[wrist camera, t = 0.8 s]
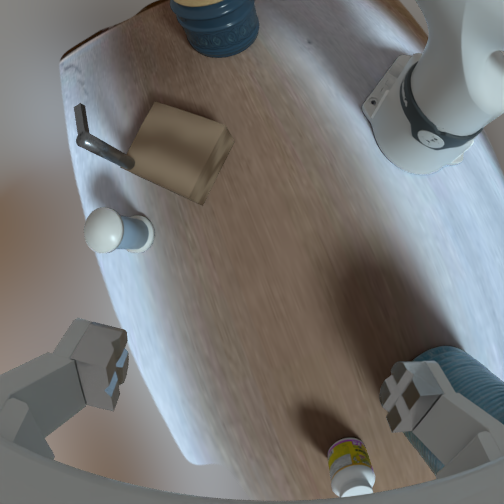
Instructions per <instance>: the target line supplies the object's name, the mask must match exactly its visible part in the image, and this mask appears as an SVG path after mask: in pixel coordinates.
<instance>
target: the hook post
mask: <svg viewBox="0 0 504 504" xmlns="http://www.w3.org/2000/svg"><path fill="white" fill-rule="evenodd" d="M74 111H75V118H76V125H77V132H78V136H77V139H76V143H77V145H78V146H80V147H82V148H84V149H86V150H88V151H90V152H92V153H94V154H96V155H98V156H101V157H103V158H105V159H107V160H109V161H111V162H113V163H115V164H117V165H119V166H121V167H123V168H125V169H127V170H131V169H132V168H133V167H134V166H135V160H134V159H133V158H131V157H130V156H128V155H126V154H124V153H123V152H121V151H119V150H118V149H116V148H114V147H112V146H111V145H109V144H107V143H105V142H104V141H102V140H100V139H98V138H97V137H95V136H93V135H91V134H90V133H89V128H88V122H87V116H86V110H85V106H84V105H83V104H81V103H80V104H78V105H77V106H75V107H74Z"/></svg>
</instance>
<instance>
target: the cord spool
mask: <svg viewBox="0 0 504 504" xmlns="http://www.w3.org/2000/svg"><path fill="white" fill-rule="evenodd" d="M84 237H85V240H86V243H87V245H88V246H89V248H90V249H91V250H93V251H94V252H97V253H110V252H112V251H114V250H115V249H126V250H127V251H128V252H131V253H143V252H145V251H147V250H148V249H149V248H150V247H151V245H152V244H153V241H154V238H155V230H154V227H153V224H152V223H151V221H150V220H149V219H147V218H146V217H143V216H139V215H135V216H131V217H126V216H121V215H119V213H118V212H116V211H115V210H113V209H110V208H106V207H101V208H98V209H96V210H94V211H93V212H92V213H91V214H90V215H89V216H88V218H87V220H86V223H85V226H84Z"/></svg>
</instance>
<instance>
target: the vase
mask: <svg viewBox="0 0 504 504" xmlns="http://www.w3.org/2000/svg"><path fill="white" fill-rule="evenodd" d="M412 361H435V362H437V363H438V364H439V366H440V368H441V369H442V371H443V372H444V374H445V376H446V377H447V379H448V381H449V382H450V384H451V386H452V387H453V389H454V391H455V392H456V393H460V394H461V395H463V396H464V397H465V398H467V399H468V400H470V401H471V402H473V403H474V404H475V405H477V406H478V407H480V408H481V409H482V410H484V411H485V412H487V413H488V414H489V415H491V416H492V417H494V418H495V419H496V420H498V421H499V422H501V423H502V424H503V425H504V382H503V381H502V380H500V379H499V378H498V377H497V376H495V375H494V374H493V373H491V372H490V371H489V370H488V369H487V368H486V367H485V366H484V365H482V364H481V363H480V362H478V361H477V360H476V359H474V358H473V357H471V356H470V355H469V354H467V353H466V352H465V351H463V350H462V349H460V348H457V347H453V346H440V347H435V348H432V349H430V350H427V351H425V352H423V353H422V354H420V355H419V356H417V357H416V358H415V359H414V360H412ZM403 433H404V435H405V436H406V437H407V439H408V440H409V442H410V443H411V444H412V445H413V447H414V448H415V449H416V450H417V451H418V452H419V454H420V455H421V457H422V458H423V459H424V461H425V462H426V463H427V465H428V466H429V468H430V469H431V471H432V472H433V473H434V474H435V476H436V475H437V473H438V472H439V471H440V470H441V469H442V468H443V467H444V466H445V465H444V464H443V463H442V462H441V461H440V460H439V459H438V458H437V457H436V456H435V455H434V454H433V453H432V452H431V451H430V450H429V449H428V448H427V447H426V446H425V445H424V444H423V443H422V442H421V440H420V439H419V438H418V437H417V436H416V435H415V434H414V433H413V431H406V432H403Z"/></svg>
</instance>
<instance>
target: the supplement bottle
mask: <svg viewBox="0 0 504 504" xmlns="http://www.w3.org/2000/svg"><path fill="white" fill-rule="evenodd" d="M328 464H329V471H330V478H331V486H332V490H333V492H334V493H335V494H336V495H337V496H339V497H349V496H357V495H364V494H371V493H373V490H372V486H373V485H374V482H375V474H374V471H373V468H372V465H371V462H370V459H369V456H368V453H367V450H366V447H365V445H364V443H363V442H362V441H360V440H359V439H356V438H344V439H341V440H338V441H337V442H335V443H334V444H333V445H332V446H331V447H330V449H329V451H328Z"/></svg>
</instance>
